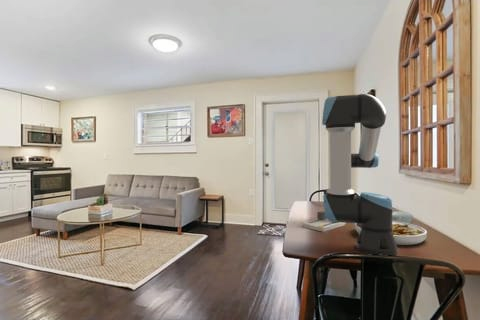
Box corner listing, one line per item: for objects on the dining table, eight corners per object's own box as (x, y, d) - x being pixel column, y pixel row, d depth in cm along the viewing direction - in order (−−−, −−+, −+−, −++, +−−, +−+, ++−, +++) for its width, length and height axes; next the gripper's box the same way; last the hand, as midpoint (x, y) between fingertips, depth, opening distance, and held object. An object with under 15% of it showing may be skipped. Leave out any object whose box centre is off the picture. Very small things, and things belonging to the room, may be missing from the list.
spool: (406, 217, 149) (406, 204, 145) (417, 229, 141) (417, 215, 136) (382, 222, 151) (382, 209, 146) (391, 234, 142) (391, 221, 138)
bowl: (412, 230, 135) (412, 215, 135) (439, 250, 106) (439, 231, 106) (351, 227, 143) (350, 213, 143) (361, 244, 114) (360, 227, 114)
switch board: (323, 231, 133) (323, 227, 133) (301, 226, 144) (301, 222, 144) (345, 224, 147) (345, 221, 147) (324, 220, 158) (324, 216, 158)
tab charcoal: (322, 219, 150) (322, 213, 150) (317, 218, 152) (317, 212, 152) (326, 218, 152) (326, 212, 152) (321, 217, 155) (321, 211, 155)
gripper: (339, 176, 155) (340, 215, 155) (327, 177, 147) (327, 218, 147) (351, 177, 149) (352, 217, 149) (339, 178, 141) (340, 221, 141)
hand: (340, 218), depth 148 cm, fingers closed
